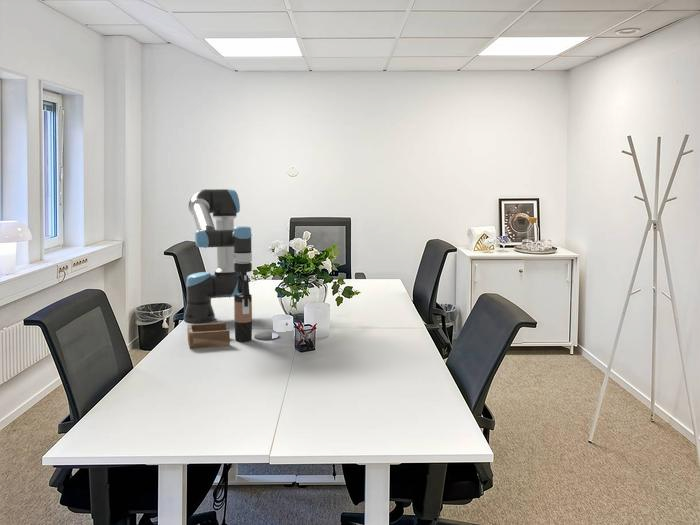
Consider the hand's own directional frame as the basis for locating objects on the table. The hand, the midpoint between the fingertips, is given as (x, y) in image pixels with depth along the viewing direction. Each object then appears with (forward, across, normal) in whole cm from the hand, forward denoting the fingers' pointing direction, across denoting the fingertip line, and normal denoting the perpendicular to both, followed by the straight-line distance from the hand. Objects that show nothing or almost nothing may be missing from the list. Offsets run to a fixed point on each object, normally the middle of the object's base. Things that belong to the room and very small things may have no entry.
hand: (243, 310), depth 258 cm
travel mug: (+13, 0, 0) cm, 13 cm away
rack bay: (+13, 0, -15) cm, 20 cm away
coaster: (+13, -2, +10) cm, 17 cm away
